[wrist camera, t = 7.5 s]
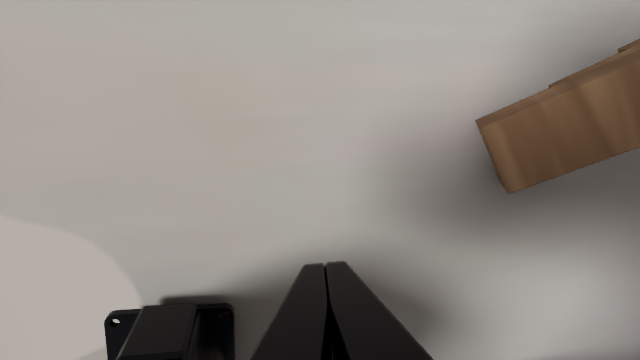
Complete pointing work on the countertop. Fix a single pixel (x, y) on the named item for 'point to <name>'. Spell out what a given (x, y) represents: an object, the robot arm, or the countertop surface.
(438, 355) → the countertop surface
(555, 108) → the domino
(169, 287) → the countertop surface
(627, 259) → the countertop surface
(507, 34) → the countertop surface
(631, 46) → the domino
